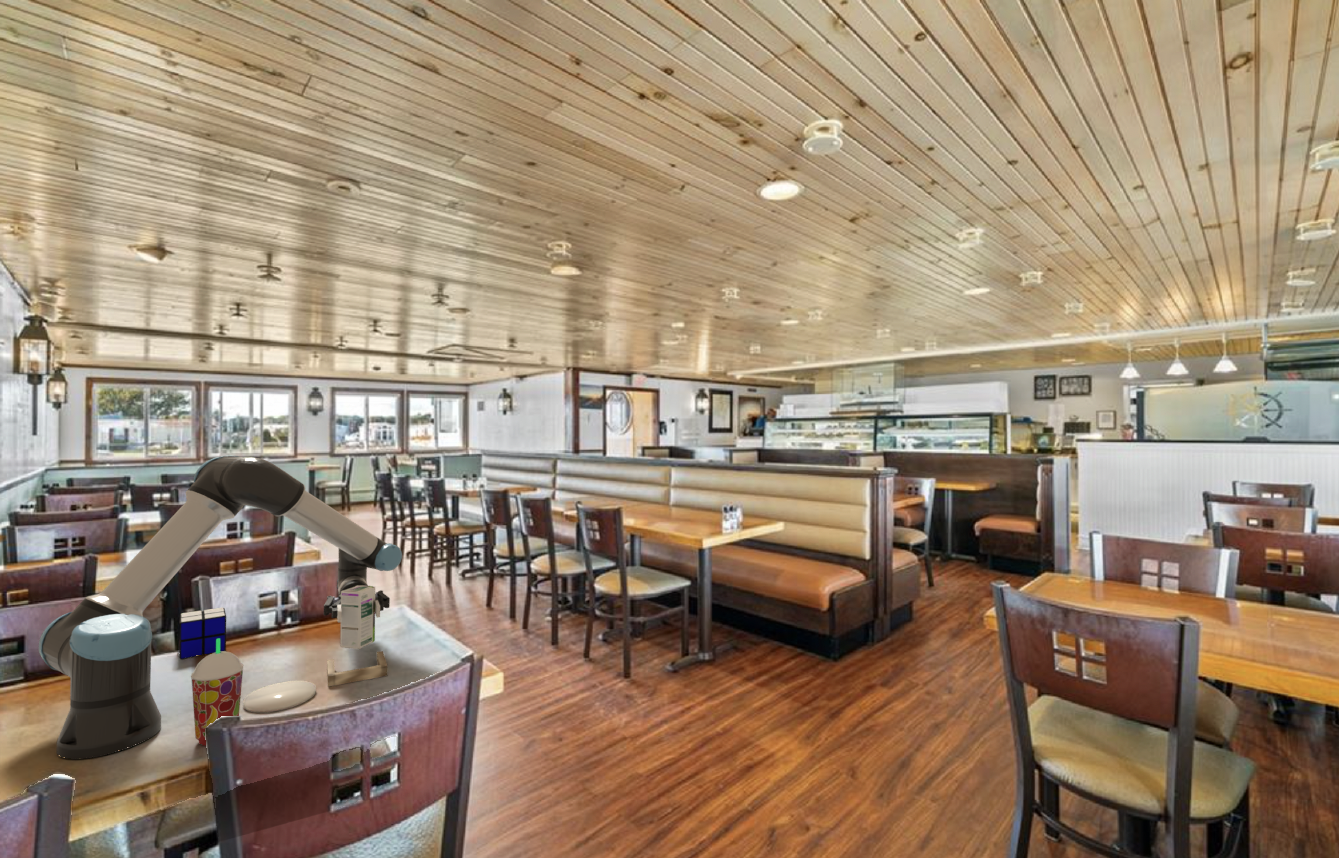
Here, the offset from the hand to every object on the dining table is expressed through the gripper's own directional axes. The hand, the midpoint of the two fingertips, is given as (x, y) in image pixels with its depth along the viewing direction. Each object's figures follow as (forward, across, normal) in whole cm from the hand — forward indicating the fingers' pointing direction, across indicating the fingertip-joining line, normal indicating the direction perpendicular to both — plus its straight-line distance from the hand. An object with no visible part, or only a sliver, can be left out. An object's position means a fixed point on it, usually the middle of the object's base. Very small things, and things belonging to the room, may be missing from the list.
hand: (359, 614), depth 148 cm
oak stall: (-5, 0, -16) cm, 17 cm away
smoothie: (+18, +26, -16) cm, 36 cm away
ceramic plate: (+3, +16, -16) cm, 23 cm away
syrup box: (-5, 0, -9) cm, 10 cm away
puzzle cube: (-42, +36, -16) cm, 58 cm away
